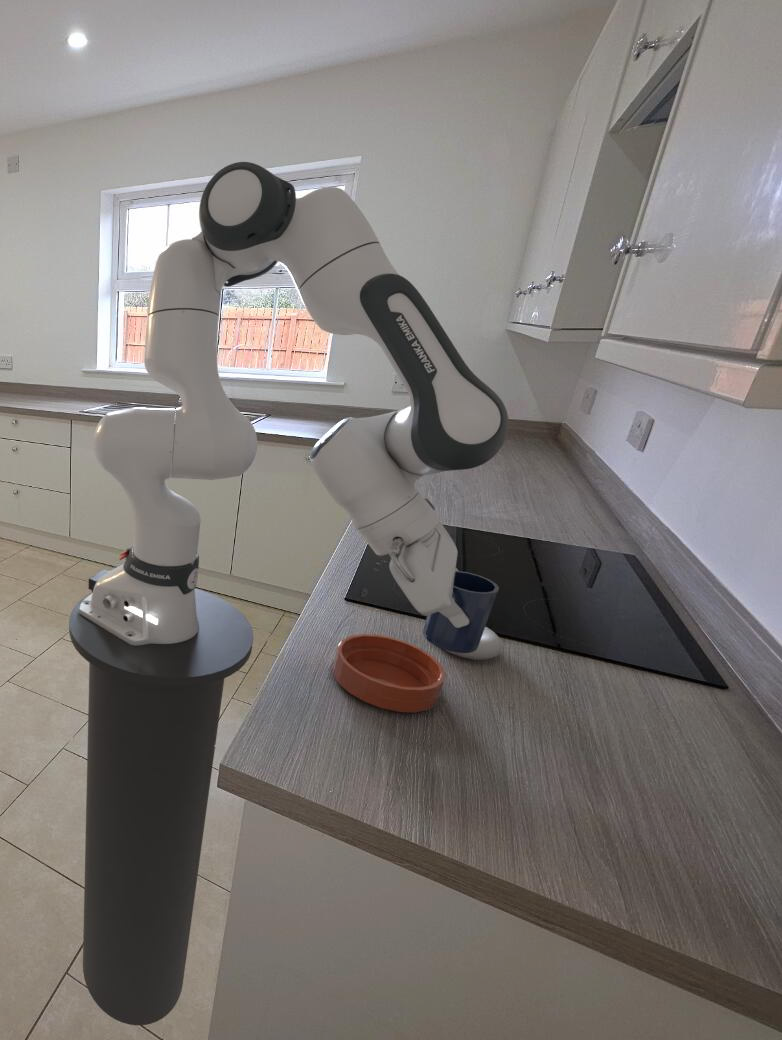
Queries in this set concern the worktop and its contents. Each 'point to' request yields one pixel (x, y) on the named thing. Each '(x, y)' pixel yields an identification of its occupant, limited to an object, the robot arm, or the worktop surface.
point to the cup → (477, 603)
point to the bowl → (388, 673)
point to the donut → (484, 647)
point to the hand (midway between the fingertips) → (464, 610)
